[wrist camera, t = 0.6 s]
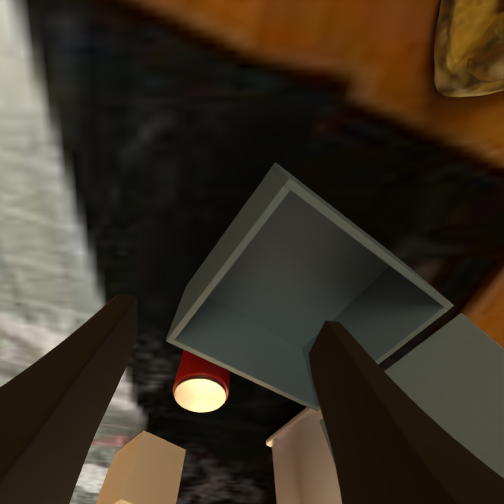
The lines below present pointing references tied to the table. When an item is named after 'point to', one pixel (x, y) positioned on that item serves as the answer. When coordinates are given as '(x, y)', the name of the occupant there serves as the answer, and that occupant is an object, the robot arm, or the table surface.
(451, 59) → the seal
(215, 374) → the can
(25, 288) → the table surface
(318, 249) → the carton
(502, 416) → the carton flap
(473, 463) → the robot arm
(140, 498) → the tan cube
